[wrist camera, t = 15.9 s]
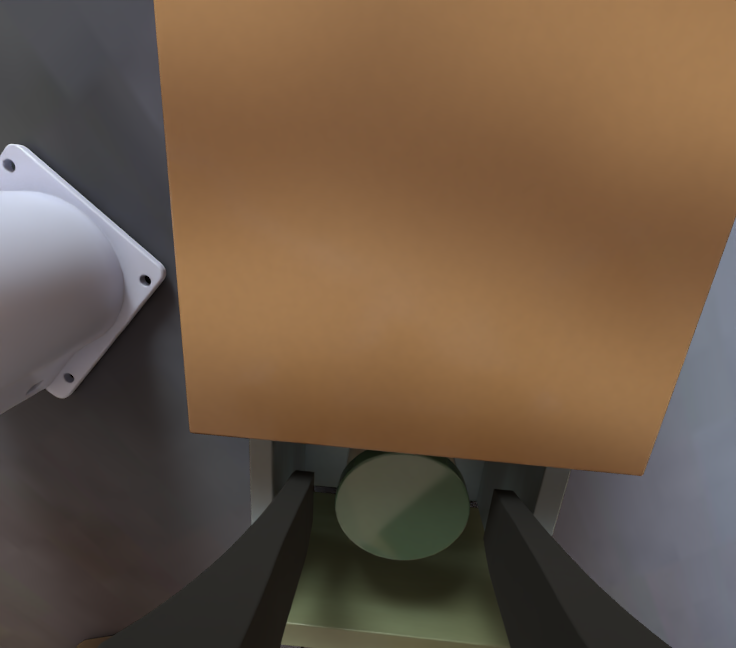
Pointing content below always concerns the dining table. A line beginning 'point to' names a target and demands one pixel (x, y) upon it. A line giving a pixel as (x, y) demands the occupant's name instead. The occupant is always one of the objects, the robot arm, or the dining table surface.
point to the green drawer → (396, 577)
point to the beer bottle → (92, 642)
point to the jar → (401, 503)
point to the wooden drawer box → (446, 218)
